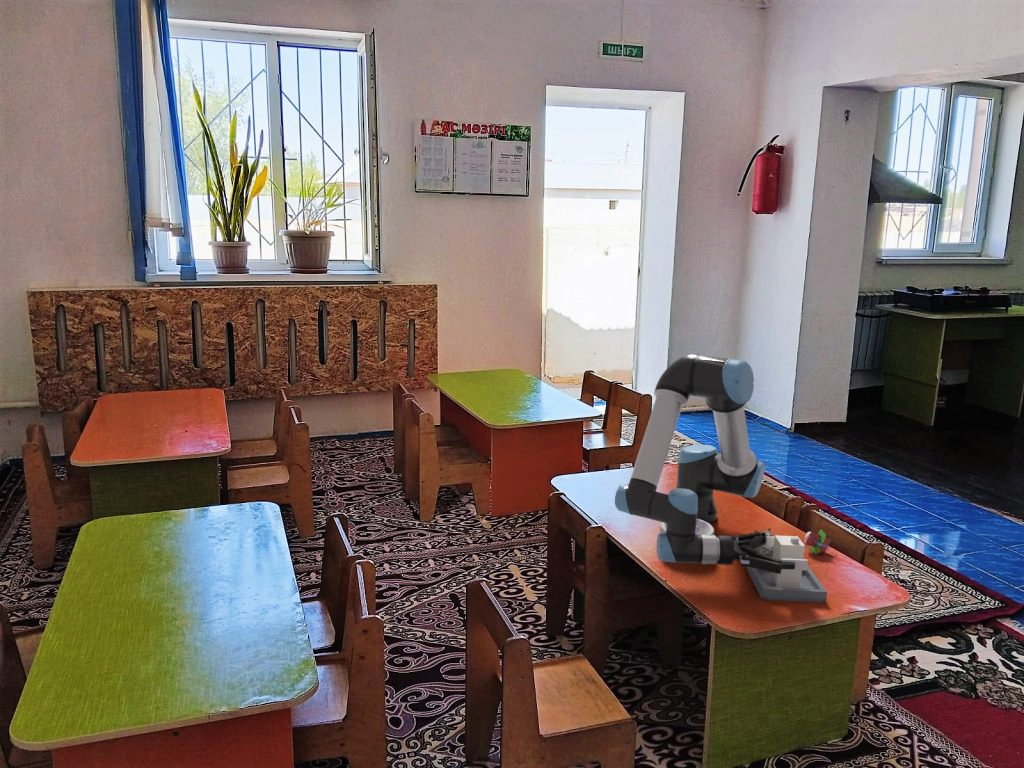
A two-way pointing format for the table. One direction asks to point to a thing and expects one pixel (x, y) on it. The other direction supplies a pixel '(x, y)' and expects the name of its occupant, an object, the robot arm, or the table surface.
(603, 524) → the table surface
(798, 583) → the carton
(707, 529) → the white round bowl
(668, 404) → the robot arm
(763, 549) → the game die
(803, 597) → the tray
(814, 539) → the geometric puzzle
